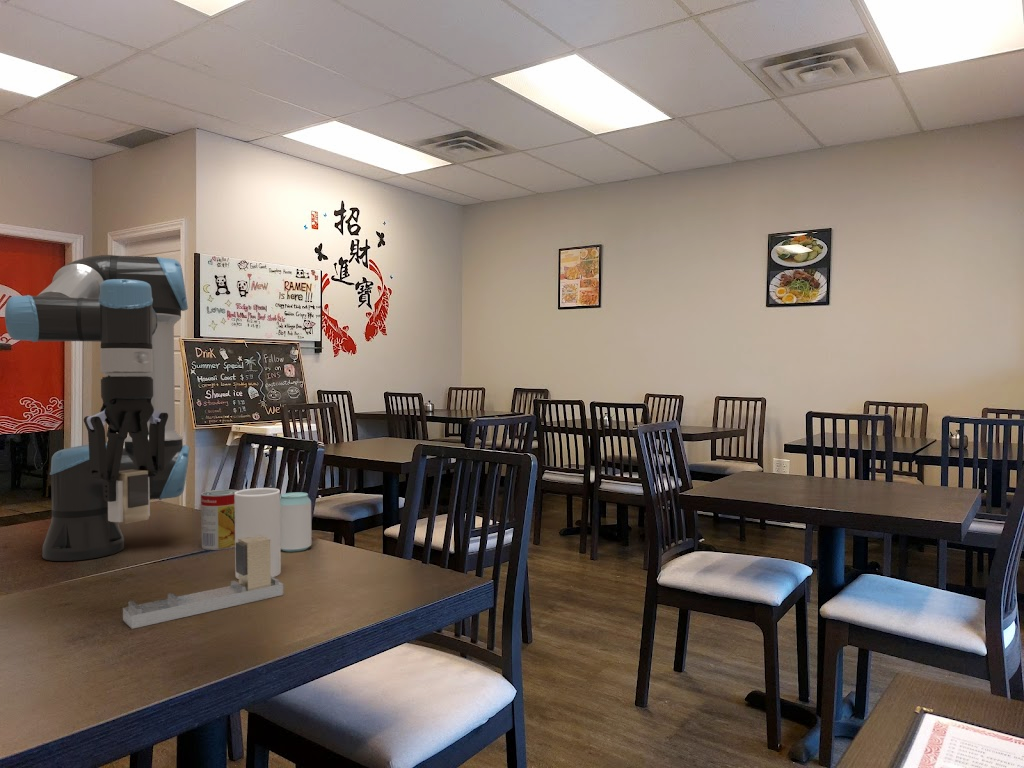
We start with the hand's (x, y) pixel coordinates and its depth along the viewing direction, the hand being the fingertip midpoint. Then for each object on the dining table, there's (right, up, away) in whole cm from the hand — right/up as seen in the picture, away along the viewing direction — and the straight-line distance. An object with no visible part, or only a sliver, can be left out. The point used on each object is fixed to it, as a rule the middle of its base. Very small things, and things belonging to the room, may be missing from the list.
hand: (129, 518), depth 117 cm
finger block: (0, 0, 0) cm, 0 cm away
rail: (+12, -15, +2) cm, 19 cm away
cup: (+14, -15, +21) cm, 29 cm away
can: (+15, -15, +40) cm, 45 cm away
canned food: (-3, -15, +43) cm, 46 cm away
